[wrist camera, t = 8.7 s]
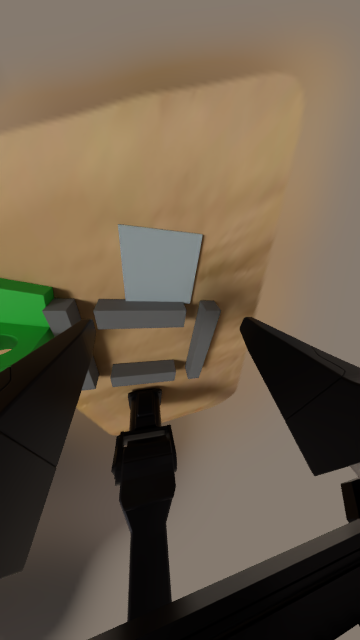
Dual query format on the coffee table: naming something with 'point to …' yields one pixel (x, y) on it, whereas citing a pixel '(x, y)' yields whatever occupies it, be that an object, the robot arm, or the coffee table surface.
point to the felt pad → (158, 263)
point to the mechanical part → (22, 319)
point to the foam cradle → (140, 316)
